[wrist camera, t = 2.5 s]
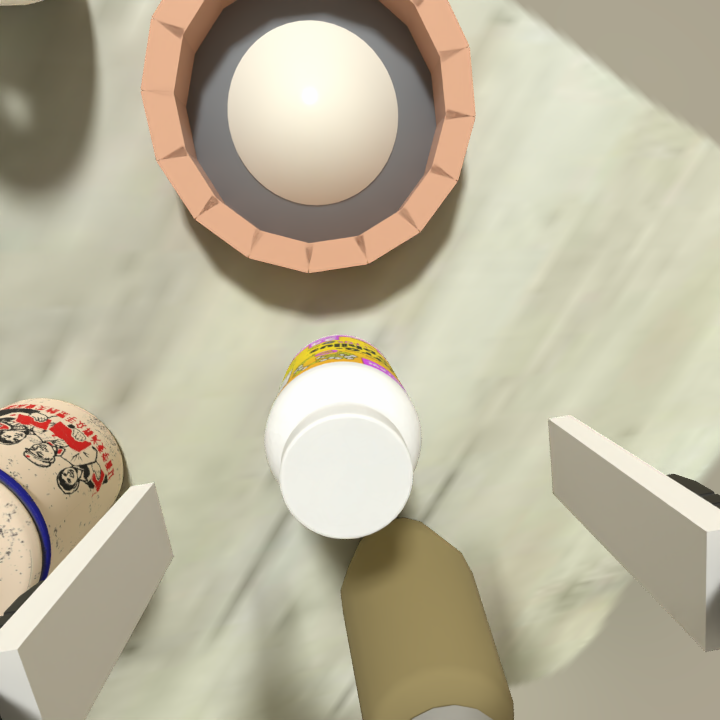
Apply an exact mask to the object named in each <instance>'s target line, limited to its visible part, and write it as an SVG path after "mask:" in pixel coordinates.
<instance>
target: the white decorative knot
mask: <svg viewBox="0 0 720 720" xmlns="http://www.w3.org/2000/svg"><path fill="white" fill-rule="evenodd" d="M40 1H43V0H0V5H28V4H32V3H36V2H40Z"/></svg>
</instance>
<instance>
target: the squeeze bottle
mask: <svg viewBox="0 0 720 720" xmlns="http://www.w3.org/2000/svg"><path fill="white" fill-rule="evenodd" d="M341 599H342V607H343V615H344V621H345V626H346V631H347V637H348V642H349V648H350V653H351V659H352V664H353V670H354V675H355V680H356V686H357V691H358V697H359V702H360V708H361V713H362V719H363V720H514V712H513V711H514V709H513V700H512V697H511V694H510V690H509V687H508V684H507V681H506V678H505V674H504V671H503V668H502V665H501V662H500V659H499V655H498V652H497V649H496V646H495V643H494V640H493V637H492V633H491V630H490V627H489V624H488V621H487V618H486V614H485V611H484V608H483V605H482V602H481V599H480V595H479V592H478V589H477V586H476V583H475V580H474V576H473V573H472V571H471V570H470V568H469V566H468V564H467V562H466V560H465V559H464V557H463V555H462V553H461V552H460V551H458V550H457V549H456V548H455V547H453V546H452V545H451V544H449V543H448V542H447V541H446V540H444V539H443V538H442V537H440V536H439V535H438V534H436V533H435V532H434V531H433V530H431V529H430V528H429V527H427V526H426V525H424V524H423V523H422V522H420V521H416V520H412V519H408V518H398V519H394V520H393V521H392V522H390V523H389V524H388V525H387V526H385V527H384V528H382V529H381V530H379V531H377V532H375V533H372V534H370V535H367V536H364V537H363V538H362V539H361V541H360V543H359V545H358V547H357V549H356V552H355V554H354V556H353V558H352V560H351V563H350V565H349V567H348V570H347V573H346V576H345V579H344V582H343V585H342V588H341Z"/></svg>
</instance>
